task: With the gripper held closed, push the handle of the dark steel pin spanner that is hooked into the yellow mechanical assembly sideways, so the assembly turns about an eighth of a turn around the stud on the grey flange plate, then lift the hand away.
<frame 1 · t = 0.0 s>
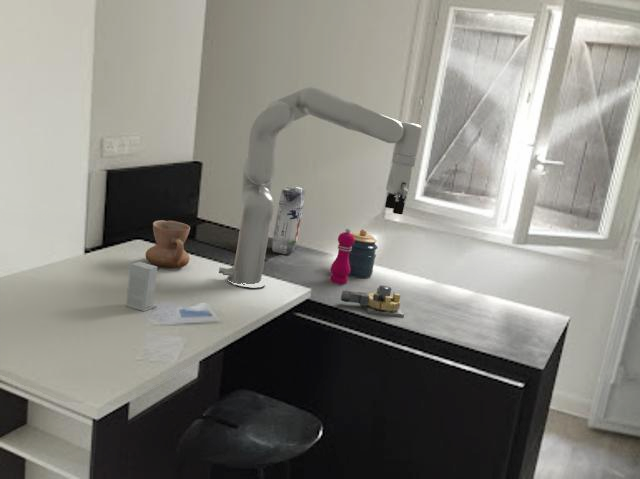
hand: (393, 210, 232), 31 cm above the counter, tool pointing down, fingers open, 9 cm apart
yellow mechanical assembly: (370, 297, 226), point 4 cm above the counter, hinge at 0.0°
ceramic jug: (167, 266, 232), on the counter
flange plate: (380, 309, 228), on the counter
canister: (355, 273, 268), on the counter
skincare box: (138, 307, 189), on the counter
pepper mill: (338, 282, 252), on the counter
juice carton: (283, 252, 282), on the counter
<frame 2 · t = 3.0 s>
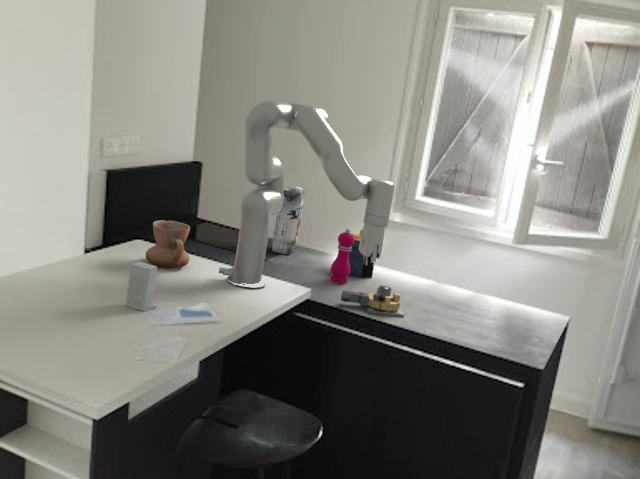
hand: (366, 277, 216), 12 cm above the counter, tool pointing down, fingers closed
nothing on the counter moved.
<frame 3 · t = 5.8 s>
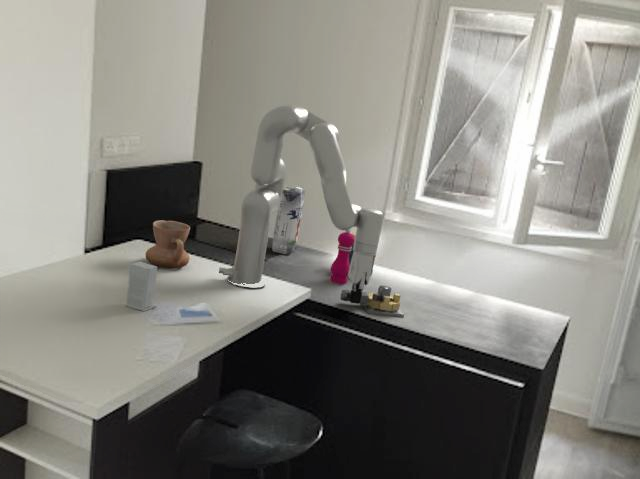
hand: (354, 302, 223), 2 cm above the counter, tool pointing down, fingers closed
yellow mechanical assembly: (370, 296, 226), point 4 cm above the counter, hinge at -3.9°, touching gripper
everything else where it was.
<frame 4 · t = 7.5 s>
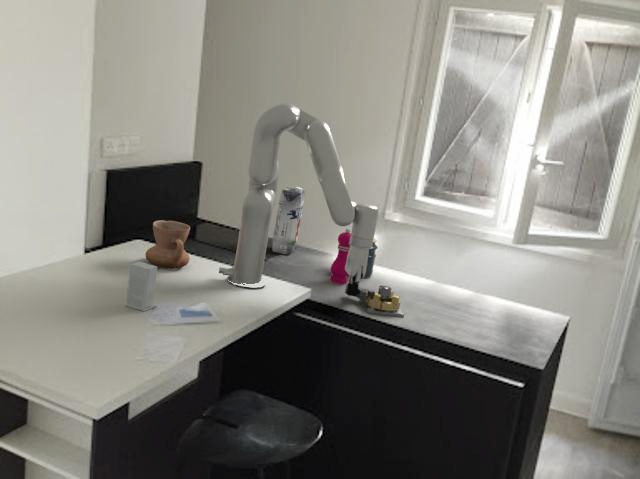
hand: (351, 295, 229), 2 cm above the counter, tool pointing down, fingers closed
yellow mechanical assembly: (371, 294, 229), point 4 cm above the counter, hinge at -42.4°, touching gripper
everything else where it was.
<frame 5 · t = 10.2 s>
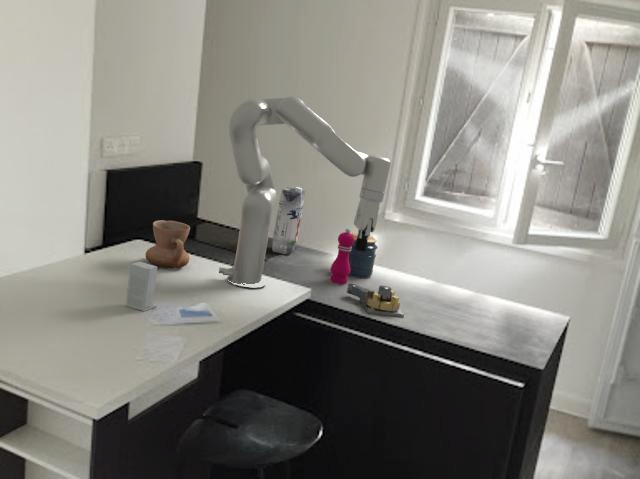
hand: (359, 250, 224), 18 cm above the counter, tool pointing down, fingers closed
yellow mechanical assembly: (372, 294, 229), point 4 cm above the counter, hinge at -47.7°
everything else where it was.
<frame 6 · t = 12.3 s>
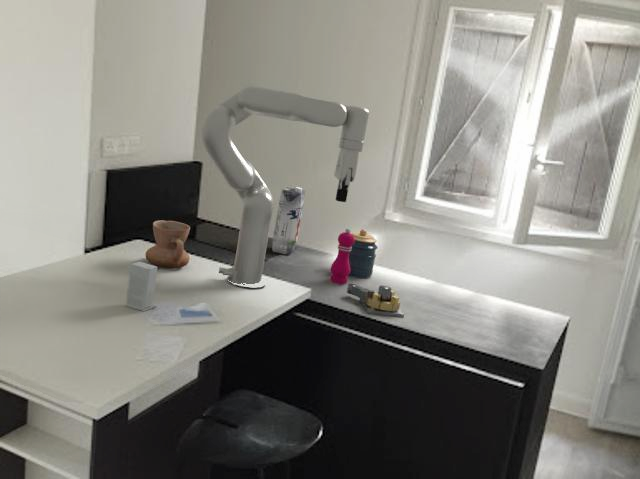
hand: (340, 201, 226), 32 cm above the counter, tool pointing down, fingers closed
nothing on the counter moved.
at the end: yellow mechanical assembly at -48° (first picture: +0°) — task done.
